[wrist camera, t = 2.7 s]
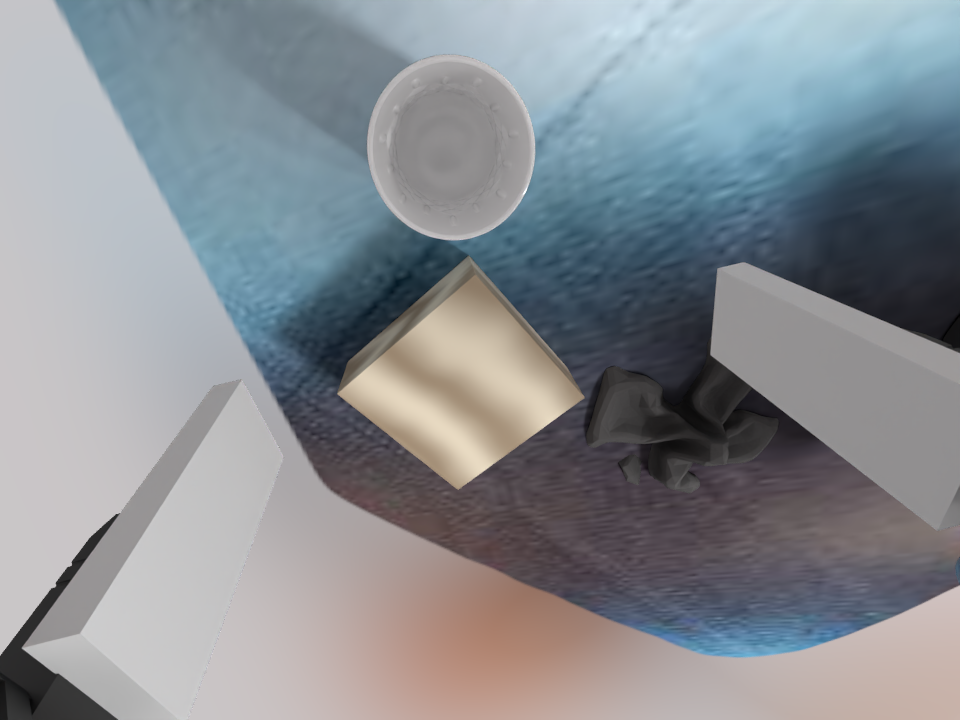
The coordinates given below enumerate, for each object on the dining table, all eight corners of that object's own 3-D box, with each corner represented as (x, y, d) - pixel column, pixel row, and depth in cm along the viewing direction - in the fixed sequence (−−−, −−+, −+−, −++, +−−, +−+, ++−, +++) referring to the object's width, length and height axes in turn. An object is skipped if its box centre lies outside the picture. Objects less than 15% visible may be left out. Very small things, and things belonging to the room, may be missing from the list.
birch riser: (468, 255, 33) (475, 274, 29) (566, 366, 38) (584, 397, 34) (348, 361, 36) (337, 393, 32) (454, 451, 41) (457, 489, 37)
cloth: (555, 389, 40) (575, 429, 35) (751, 292, 38) (806, 319, 32) (630, 533, 50) (655, 582, 45) (789, 464, 48) (836, 507, 42)
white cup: (392, 212, 31) (378, 244, 22) (377, 79, 27) (354, 56, 19) (503, 207, 32) (533, 236, 23) (503, 77, 28) (538, 52, 19)
